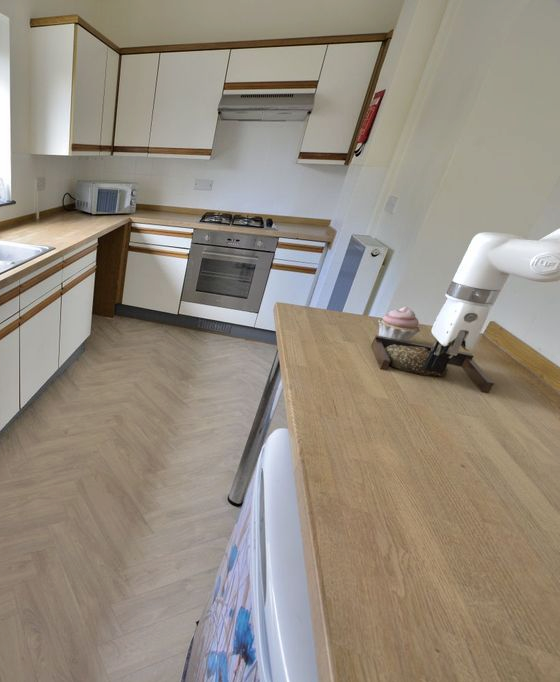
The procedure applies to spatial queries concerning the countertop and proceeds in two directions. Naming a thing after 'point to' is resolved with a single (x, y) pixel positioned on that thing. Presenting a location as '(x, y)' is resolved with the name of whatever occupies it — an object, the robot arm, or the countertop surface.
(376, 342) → the frame
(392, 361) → the bread roll
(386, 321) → the cupcake
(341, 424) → the countertop surface
